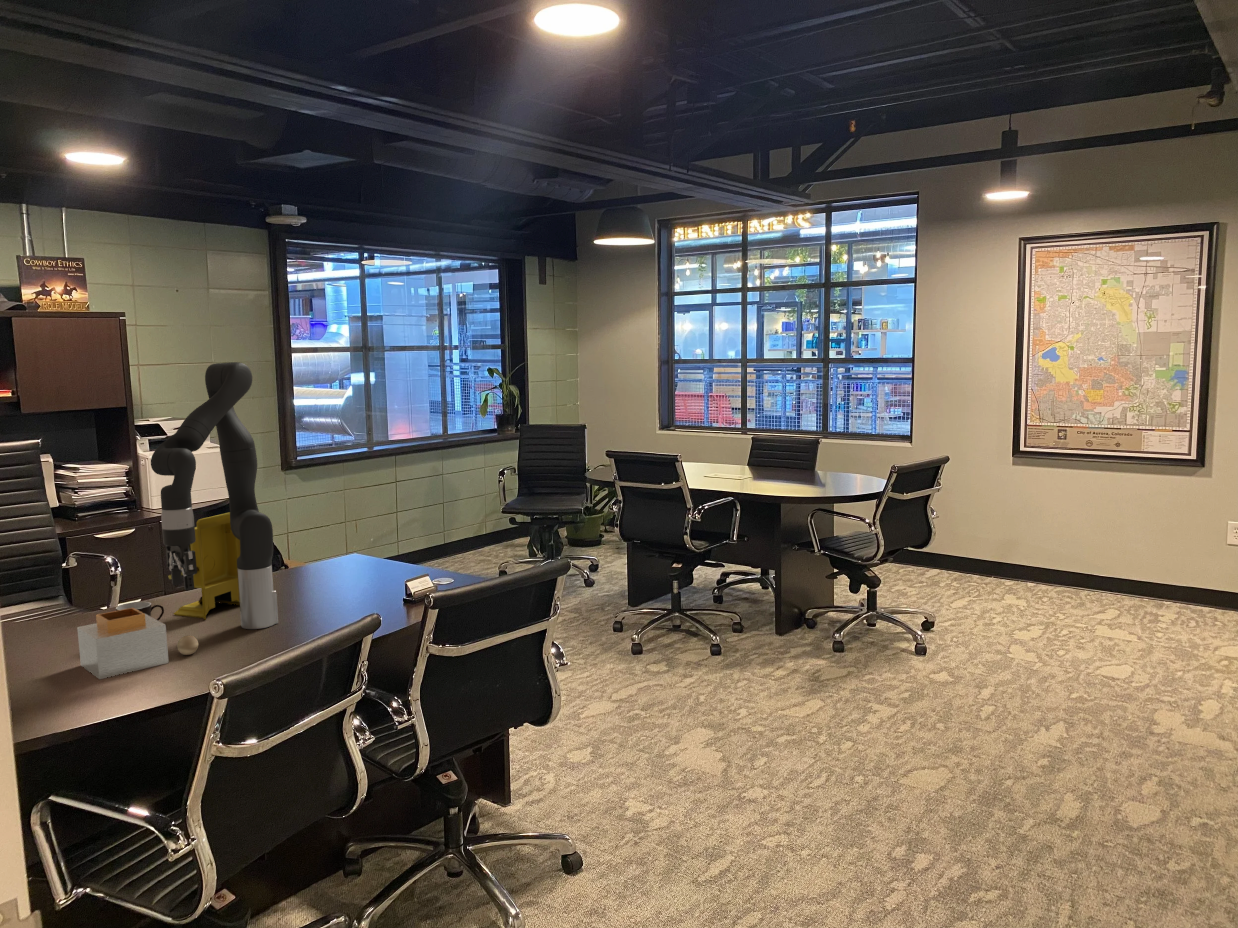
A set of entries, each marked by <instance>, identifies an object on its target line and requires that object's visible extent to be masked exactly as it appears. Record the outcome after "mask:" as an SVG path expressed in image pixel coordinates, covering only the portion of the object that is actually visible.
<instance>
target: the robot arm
mask: <svg viewBox="0 0 1238 928" xmlns="http://www.w3.org/2000/svg"><path fill="white" fill-rule="evenodd" d="M204 383H205V388H206V392H207V395H208V400H206V401H205V402H204V403H202V404H201V405H199V406H198V407H196V408H195V409H194V410H193V411H191V412H190V413H189V414H188V415H187V416H186V418H185V419H184V420H183V422H181V424H180V426H179V427H178V428H177V430H176V432H175V433H174V434H172V435H171V436H170V437H168V438H167V439H165V440H164V441H163V442H162V443H161V444H160V445H159V446H157V448H156V449H155V450H154V452H153V453H152V456H151V458H150V467H151V470H152V471H153V472H154V473H155V474H156V475H160V476H165V477H166V476H169V477H171V476H173V480H172V483H171V484H168V485H166V486H163V487H161V489H160V504H161V520H160V521H161V530H162V531H161V533H162V543H163V545H164V546H165V558H166V561H165V562H166V568H169V571H170V572H171V573H170V575H171V577H172V579H171V584H172V585H173V586H178V585H181V584H183V587H184V591H186V592H188V591H193V590H195V588H194V578H193V575H194V574H197V565H196V555H195V551H194V550H193V551H190V549H189V545H190V544H192V543H194V542H195V541H196V539H195V527H196V526H195V515H194V510H193V504H192V503H193V502H192V487H193V483H194V478H195V473H196V467H197V461H196V457H195V455H194V453H193V452H197V451H199V449H201V448H202V446H203V444H204V443H205V442H206V441H207V440H208V438H209V436H210V434H211V433H212V432H213V430H214V428H215V429H216V433H217V439H218V445H219V454H220V459H221V464H222V468H223V469H222V470H223V473H224V474H223V475H224V481H225V485H226V490H227V495H228V503H229V504H228V505H229V512H230V525H231V530H232V533H233V535H234V536H235V537H236V538H237V539H239V540H240V556H239V557H238V558H237V572H238V586H239V601H240V605H239V612H240V613H239V615H240V625H241V628H242V629H244V630H246V629H247V630H257V629H265V628H268V627H269V628H270V627H272V626H274V625H276V624H279V611H278V598H277V597H278V595H277V590H274V581H273V565H272V560H273V559H272V558H273V555H274V530H273V524H272V522H271V521H272V520H271V518H269V516H268V515H266V514H264V513H262V512H260V510H259V507H258V503H257V497H256V491H255V490H256V489H255V486H256V485H255V484H256V480H257V473H258V457H257V451H256V450H257V449H256V445H255V440H254V438H253V436H252V434H251V433H250V432H249V430H248V429H247V428H246V426H245V424H243V422H242V421H241V420H240V418H239V416H238V415H237V413H236V411H235V408H234V406H236V405H237V403H238V402H239V401H240V400H241V399H242V398H243V397H244V396H245V395H246V394H247V393H248V392H249V391H250V389H251V387H252V386H253V373H252V370H251V369H250V368H249V366H248V365H247V364H245V363H243V362H238V361H237V362H236V361H234V362H233V361H232V362H231V361H230V362H220V363H217V362H216V363H212V364H210V365H209V366H208V367H206V370H205V374H204ZM189 569H190V570H189ZM181 572H182V573H183V575H181ZM182 576H183V577H182ZM182 579H183V580H182ZM182 581H183V583H182Z"/></svg>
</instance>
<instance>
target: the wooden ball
mask: <svg viewBox="0 0 1238 928" xmlns="http://www.w3.org/2000/svg"><path fill="white" fill-rule="evenodd" d="M177 641H178V642H177V645H176V648H177V651H178V652H179V653H180V654H181V655H184V656H189V655H193V654H194V653H196V651H197V650H198V648H199V641H198V639H197V638H196V637H195V636H193V635H184V636H182V637H181V638H179V640H177Z"/></svg>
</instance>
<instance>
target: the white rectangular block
mask: <svg viewBox="0 0 1238 928" xmlns="http://www.w3.org/2000/svg"><path fill="white" fill-rule="evenodd" d="M95 619H96V620H95V621H96V623H92V624H87V625H80V626H77V627H76V628H77V639H78V641H77V642H78V651H79V660H80V662H79V663H80V666H81V667H82V668H83V667H84V669H85V670H86V671H88V673H90V672H91V673H92V674H91V673H90V674H91V675H92V676H94V677H95V676H96V677H95V678H97V679H98V680H103V679H107V677H108V678H111V676H112V677H115V675H116V676H120V675H124V674H127V672H129V673H132V671H133V672H136V671H141V670H145V669H150V668H154V667H156V666H161V665H166V664H169V652H168V639H167V638H168V637H167V636H168V635H167V626H166V624H165V623H163V622H162V621H160V620H159V621H158V620H157V618H154V617H152V616H151V617H150V616H149V615H147V614H144V613H142V612H140V611H139V610H137V609H135V608H128V609H123V610H118V611H116V610H114V611H109V612H103V613H98V614H96V615H95ZM123 673H124V674H123ZM119 674H120V675H119Z"/></svg>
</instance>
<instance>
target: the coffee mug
mask: <svg viewBox="0 0 1238 928" xmlns="http://www.w3.org/2000/svg"><path fill="white" fill-rule="evenodd" d="M128 608H135V609H137V610H139V611H140V612H142V613H144V614H147V615H149V616H150V617H152V611H153V610H154V609H155V608H160V610H161V613H160V615H159V616H158V617H157V618H156V620H158V621H160V620H161V618H162V617H163V615H164V613H165V608H164V607H163V606H162V605H160V604H154V605H153V606H152V602H149V601H133V602H132V601H131V602H127V603H123V604H119V605H118V606H115V611H118V610H123V609H128Z"/></svg>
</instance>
